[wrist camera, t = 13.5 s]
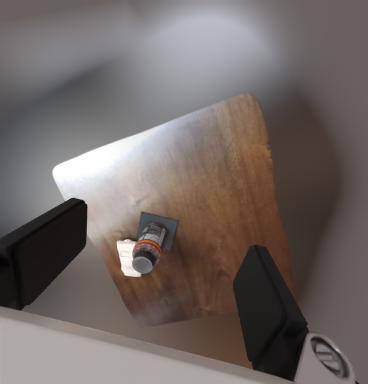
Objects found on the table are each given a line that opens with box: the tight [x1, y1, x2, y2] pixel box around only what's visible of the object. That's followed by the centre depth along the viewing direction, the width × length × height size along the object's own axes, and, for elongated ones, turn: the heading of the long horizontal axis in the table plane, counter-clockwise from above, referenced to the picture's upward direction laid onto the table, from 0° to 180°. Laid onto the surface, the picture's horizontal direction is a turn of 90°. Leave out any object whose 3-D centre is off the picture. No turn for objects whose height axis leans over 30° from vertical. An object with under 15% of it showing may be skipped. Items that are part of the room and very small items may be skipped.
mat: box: [137, 212, 178, 251], centre depth 43 cm, size 9×9×1 cm
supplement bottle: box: [132, 222, 167, 274], centre depth 37 cm, size 6×6×11 cm
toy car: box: [117, 239, 141, 277], centre depth 44 cm, size 6×12×3 cm, turn 1°
